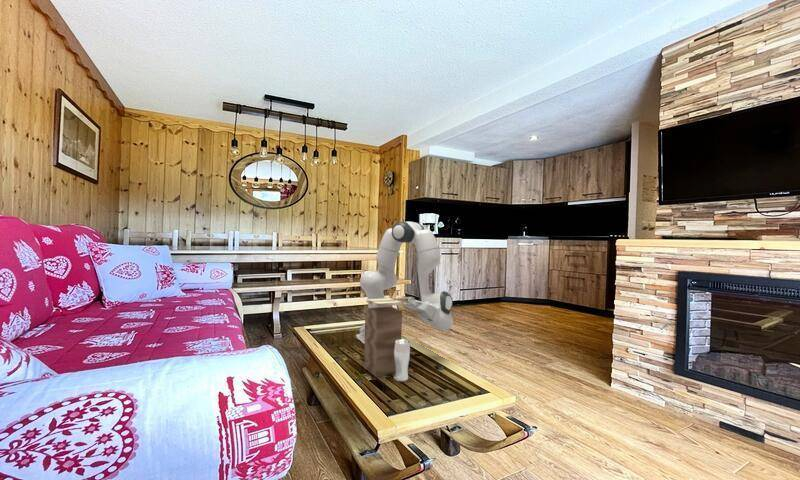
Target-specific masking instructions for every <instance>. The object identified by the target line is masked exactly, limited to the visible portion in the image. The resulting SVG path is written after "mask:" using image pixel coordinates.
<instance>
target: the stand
mask: <svg viewBox="0 0 800 480" xmlns="http://www.w3.org/2000/svg"><path fill="white" fill-rule="evenodd" d="M364 309H365V312H364V314H365V316H364V318H365V319H364V324H365V343H364V347H363V348H364V349H363V350H364V351H363V369H365V370H366V371H367V370H368V371H367V372H368V373H370V374H371V375H373V376H374V377H376V378H377V377H380V376H385V375H389V374H390V375H391V374H393V373H394V372H395V367H394V360H393V345H394V341H395V340H398V339H402V333H403V332H402V330H403V328H402V327H403V310H401V309H398V308H396V307H393V306H385V307H374V308H368V307H366V308H364Z"/></svg>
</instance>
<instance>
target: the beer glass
mask: <svg viewBox="0 0 800 480" xmlns="http://www.w3.org/2000/svg"><path fill="white" fill-rule="evenodd" d="M410 343H411V341H410V340H408V339H404V338H403V339H402V338H401V339H398V340H395V341H394V345H393V360H394V367H395V372H394V374H393V380H394V381H397V382H400V383H401V382H406V381H408V380H409V373H408V370H409V369H408V368H409V363H410V358H411V357H410V356H411V344H410Z"/></svg>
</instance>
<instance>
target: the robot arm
mask: <svg viewBox="0 0 800 480" xmlns="http://www.w3.org/2000/svg"><path fill="white" fill-rule="evenodd" d="M403 243H407V244H408V243H409V244H410V243H412V244H414V246H415V249H416V253H417V259H418V260H417V266H416V270H415V271H416V272H415V273H416V281H417V289H418V290H417V291H418V300H417V299H415V300H413V299H411V298H409V297H410V296H407V297H408V298H407V301H408V302H403V303H401V305H403V306H404V307H406V308H408V309H410V310H412V311H416V315H417V317H418V319H420V320H421V321H423V322H425V323H426V324H430V326H431V327H434V328H435V329H437V330H439V331H442V332H443V331H448V330H449V329H451V328H452V326H453V324H454V318H453V316H452V308H453V304H454V301H453V297H452V296H451V294H450V293H449V292H447V291H445V290H444V291H438V292H433V293H431V290H430V282H429V276H430V275H431V272H433V270H434V269H436V267H438V265H439V263H440V262H441V251H440V248H439V246H438V245H439V244H438V242H437V239H436V237H435V235H434V232H433V231H431V229H425V226H423V225H422V224H421V223H419V222H414V221H409V220H408V221H399V222H396V223H394V224H393V226H392V227H391V228H387V229H386V231H385V232H384V234H383V236H382V239H381V241H380V244H379V247H378V250H377V253H376V256H375V260H376V261H377V264H378V266H377V270H371V271H368V272H366V273H364V274H362V276H361V277H360V279H359V286H360V288H361V289H362V290H363V291H364V292H365V295H366V297H367V299H378V298H386V297H385V294H384V291H385V290H386V291H387V290H389V289H392V288H394V287H395V286H396V284H397V282H398V277H397V274H396V272H395V271H396V270H395V268H396V263H397V260H398V256H399V252H400V250H401V247H402V245H403ZM403 297H406V296H405V295H402V296H401V298H403ZM367 304H368V305H367V308H374V307H378V306H375V305H373V304H370V303H367ZM382 307H385V306H382ZM355 337H356V338H357V339H358V340H360V341H361V342H362V343H363V344H364V343H365V323H364V324H362V325H361V326H360V328H359V333H357V334H355ZM360 341H359V342H360ZM361 342H360V343H361ZM362 343H361V344H362Z"/></svg>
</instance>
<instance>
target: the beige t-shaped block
mask: <svg viewBox="0 0 800 480" xmlns="http://www.w3.org/2000/svg"><path fill="white" fill-rule="evenodd" d="M408 297H409V298H411V299H413V300H416V298H415V297H413V296H405V297H403V298H402V297H395V298H394V297H393V298H390V297H385V298H378V299H368V298H367V299H366V303H367V304H368V303H370V304H373V305H375V306H378V307H382V306H390V307H393V306H401V305H402V304H401V303H403V302H408V301H407V298H408Z"/></svg>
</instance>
